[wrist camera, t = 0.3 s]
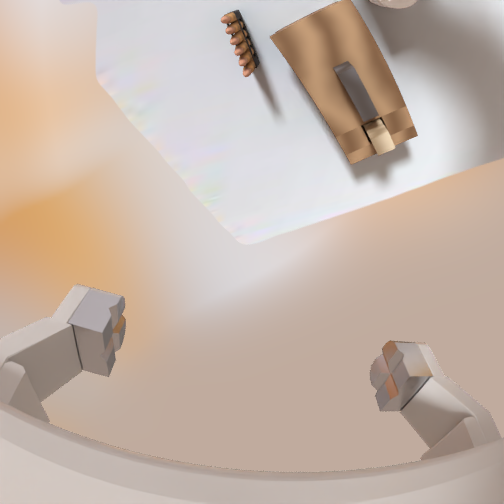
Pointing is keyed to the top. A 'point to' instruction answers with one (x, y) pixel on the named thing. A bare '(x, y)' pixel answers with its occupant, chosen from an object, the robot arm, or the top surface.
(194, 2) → the top surface
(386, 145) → the pin
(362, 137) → the lid
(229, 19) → the ammunition clip
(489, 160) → the top surface
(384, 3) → the base with upright slab
